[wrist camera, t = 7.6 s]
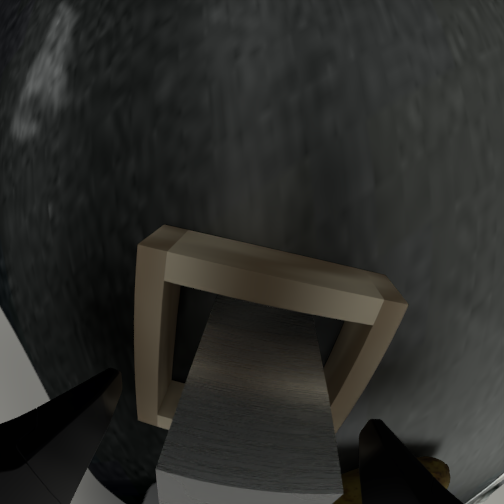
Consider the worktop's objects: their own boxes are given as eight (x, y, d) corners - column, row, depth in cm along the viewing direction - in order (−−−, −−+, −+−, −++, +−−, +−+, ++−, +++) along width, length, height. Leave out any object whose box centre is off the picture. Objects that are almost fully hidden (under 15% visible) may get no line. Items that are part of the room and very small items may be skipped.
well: (385, 274, 11) (408, 304, 9) (315, 419, 14) (319, 455, 12) (164, 224, 11) (137, 244, 9) (153, 387, 14) (137, 420, 12)
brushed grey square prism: (312, 314, 12) (343, 493, 5) (286, 382, 13) (289, 535, 6) (217, 294, 12) (155, 469, 5) (204, 366, 13) (161, 517, 6)
